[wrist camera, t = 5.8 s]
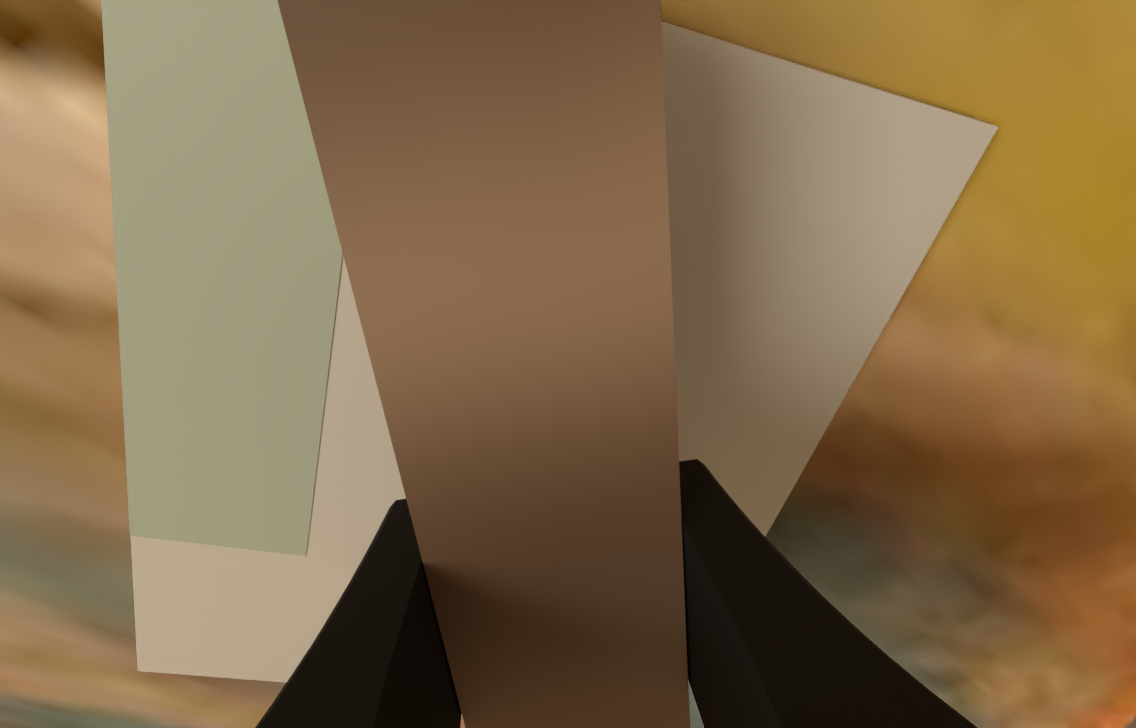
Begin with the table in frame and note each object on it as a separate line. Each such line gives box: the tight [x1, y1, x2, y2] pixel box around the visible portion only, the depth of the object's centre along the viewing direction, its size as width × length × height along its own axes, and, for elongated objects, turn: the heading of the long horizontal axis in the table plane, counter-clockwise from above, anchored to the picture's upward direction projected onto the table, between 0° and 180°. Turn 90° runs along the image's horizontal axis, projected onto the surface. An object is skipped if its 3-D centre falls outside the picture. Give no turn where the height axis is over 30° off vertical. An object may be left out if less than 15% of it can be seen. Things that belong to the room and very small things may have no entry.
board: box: [101, 0, 998, 682], centre depth 15 cm, size 14×17×1 cm
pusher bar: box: [278, 0, 690, 728], centre depth 10 cm, size 12×3×5 cm, turn 6°
